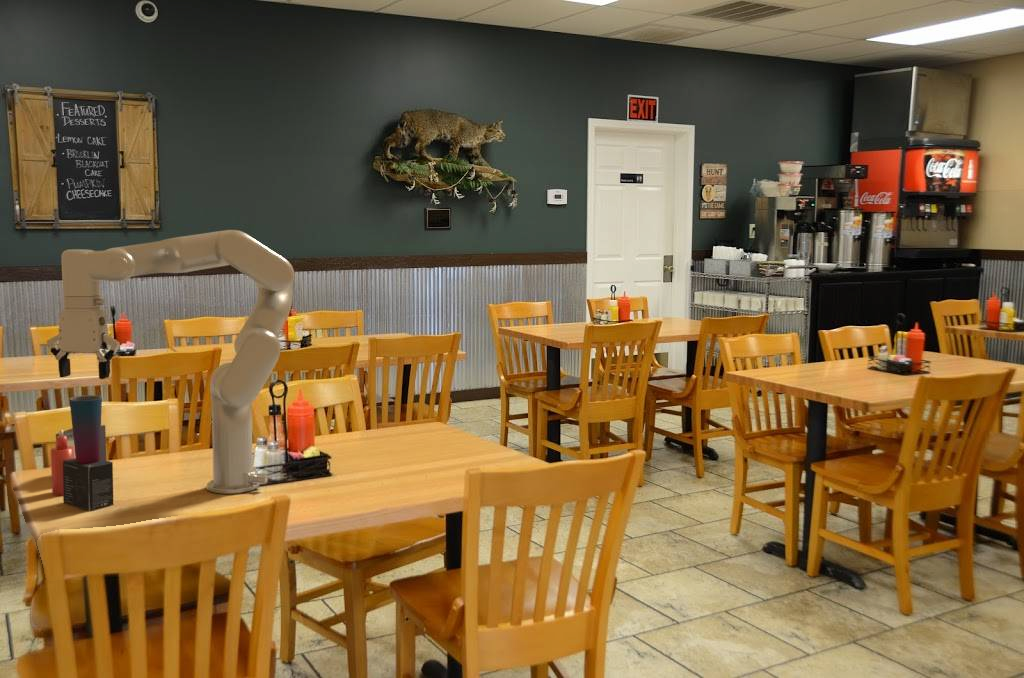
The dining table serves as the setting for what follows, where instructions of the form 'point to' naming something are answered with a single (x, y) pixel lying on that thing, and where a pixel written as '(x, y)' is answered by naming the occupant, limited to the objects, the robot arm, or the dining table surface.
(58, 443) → the ketchup bottle
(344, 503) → the dining table surface
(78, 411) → the cup
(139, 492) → the dining table surface
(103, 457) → the napkin holder
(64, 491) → the box
